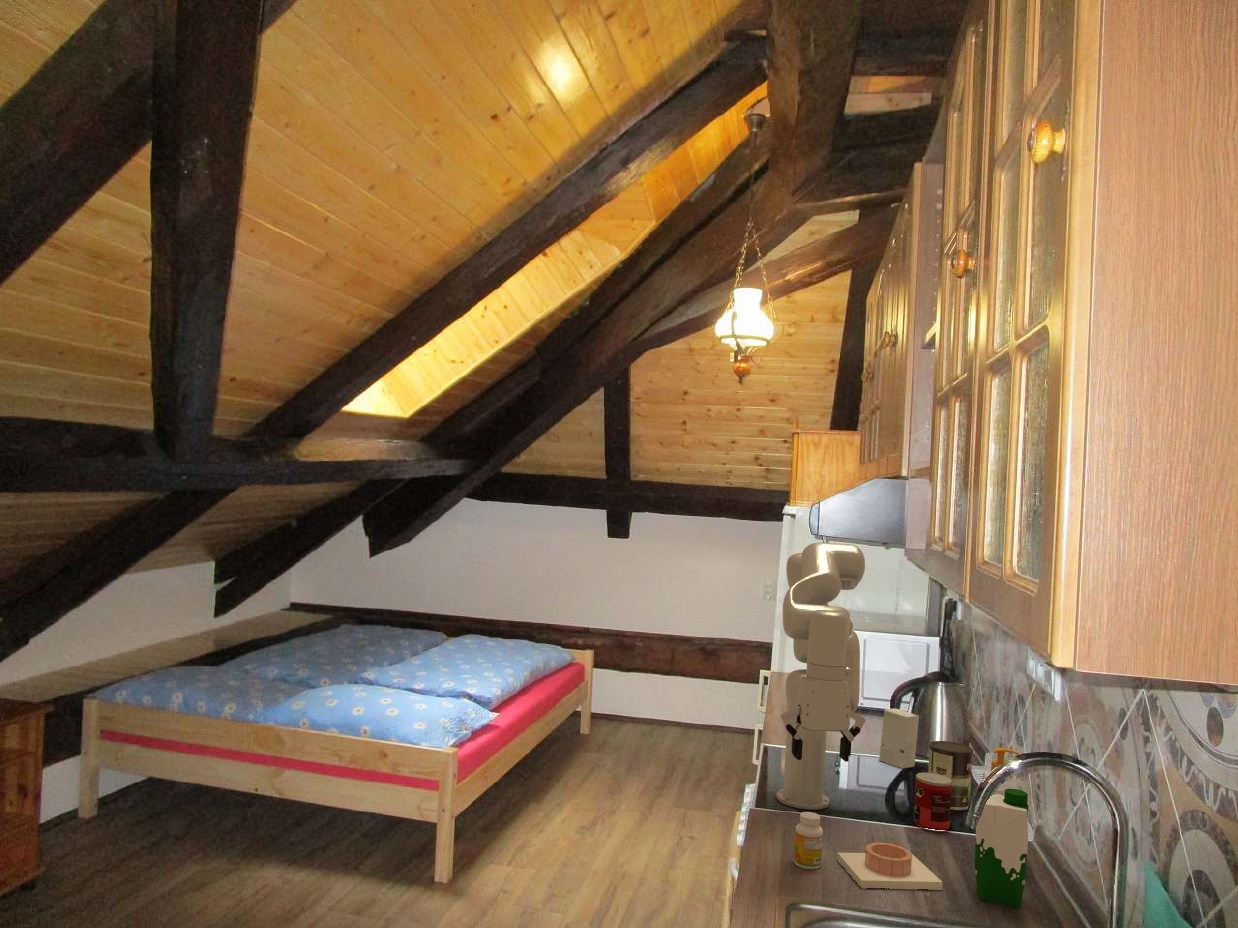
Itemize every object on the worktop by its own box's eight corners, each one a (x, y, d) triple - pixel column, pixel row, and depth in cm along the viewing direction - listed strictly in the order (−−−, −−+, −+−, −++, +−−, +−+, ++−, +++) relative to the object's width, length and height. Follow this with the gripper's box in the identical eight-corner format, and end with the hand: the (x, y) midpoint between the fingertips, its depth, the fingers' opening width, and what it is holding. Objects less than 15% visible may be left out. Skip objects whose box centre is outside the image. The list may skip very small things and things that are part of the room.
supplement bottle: (792, 857, 180) (795, 809, 180) (819, 860, 179) (822, 811, 180) (794, 868, 175) (797, 818, 175) (822, 871, 174) (825, 821, 174)
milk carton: (1025, 911, 162) (1031, 801, 163) (972, 900, 165) (977, 791, 166) (1023, 893, 170) (1028, 787, 171) (973, 882, 173) (978, 779, 174)
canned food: (918, 817, 209) (921, 770, 210) (953, 826, 205) (956, 778, 205) (908, 825, 203) (911, 777, 203) (944, 835, 198) (947, 785, 199)
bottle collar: (858, 857, 178) (859, 841, 179) (899, 858, 179) (900, 843, 180) (875, 875, 170) (876, 859, 170) (918, 876, 171) (919, 860, 171)
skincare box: (878, 761, 254) (881, 708, 255) (891, 758, 258) (894, 707, 259) (904, 769, 248) (906, 715, 248) (916, 766, 251) (919, 713, 252)
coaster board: (836, 859, 180) (837, 852, 180) (912, 861, 182) (912, 854, 182) (861, 888, 167) (861, 880, 167) (941, 889, 169) (942, 881, 169)
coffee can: (969, 800, 224) (971, 744, 225) (971, 813, 214) (974, 754, 215) (925, 793, 227) (928, 738, 228) (926, 805, 218) (929, 747, 218)
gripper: (859, 670, 182) (854, 754, 182) (778, 667, 180) (773, 752, 179) (874, 678, 175) (869, 765, 174) (789, 674, 173) (784, 763, 172)
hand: (820, 758), depth 177 cm, fingers open, 9 cm apart
